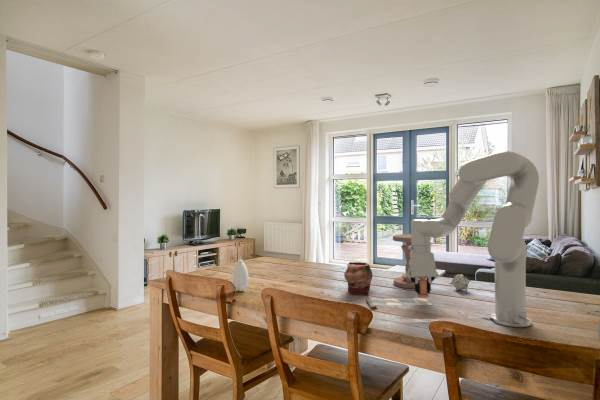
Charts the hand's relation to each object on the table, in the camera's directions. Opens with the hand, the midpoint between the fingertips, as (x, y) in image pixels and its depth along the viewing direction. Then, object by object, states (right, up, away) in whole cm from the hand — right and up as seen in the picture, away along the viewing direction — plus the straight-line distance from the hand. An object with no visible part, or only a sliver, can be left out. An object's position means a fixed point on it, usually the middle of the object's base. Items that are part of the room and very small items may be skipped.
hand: (422, 292), depth 149 cm
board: (-9, -5, +1) cm, 11 cm away
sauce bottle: (-80, -7, +27) cm, 85 cm away
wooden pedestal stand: (+6, -5, +34) cm, 35 cm away
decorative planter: (-23, -6, +22) cm, 32 cm away
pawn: (0, -2, 0) cm, 2 cm away
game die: (+25, -5, +22) cm, 34 cm away
